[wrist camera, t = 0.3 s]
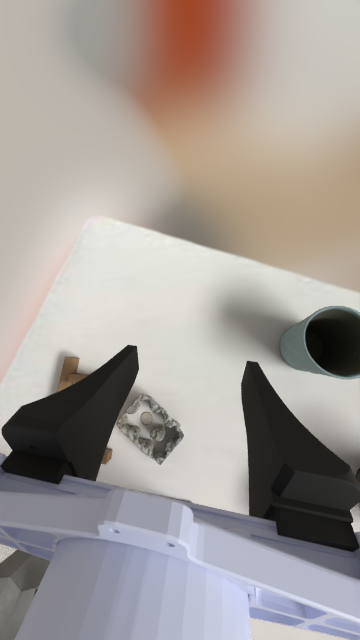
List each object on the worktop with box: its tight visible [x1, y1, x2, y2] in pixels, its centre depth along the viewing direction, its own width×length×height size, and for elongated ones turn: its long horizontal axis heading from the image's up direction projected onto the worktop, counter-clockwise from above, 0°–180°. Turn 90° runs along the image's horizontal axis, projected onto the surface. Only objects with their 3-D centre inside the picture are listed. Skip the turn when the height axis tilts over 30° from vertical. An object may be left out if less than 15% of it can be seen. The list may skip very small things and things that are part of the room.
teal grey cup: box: [279, 306, 360, 379], centre depth 36 cm, size 10×10×12 cm
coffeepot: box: [0, 550, 50, 640], centre depth 29 cm, size 15×9×18 cm, turn 120°
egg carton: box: [117, 394, 184, 465], centre depth 39 cm, size 11×8×4 cm
